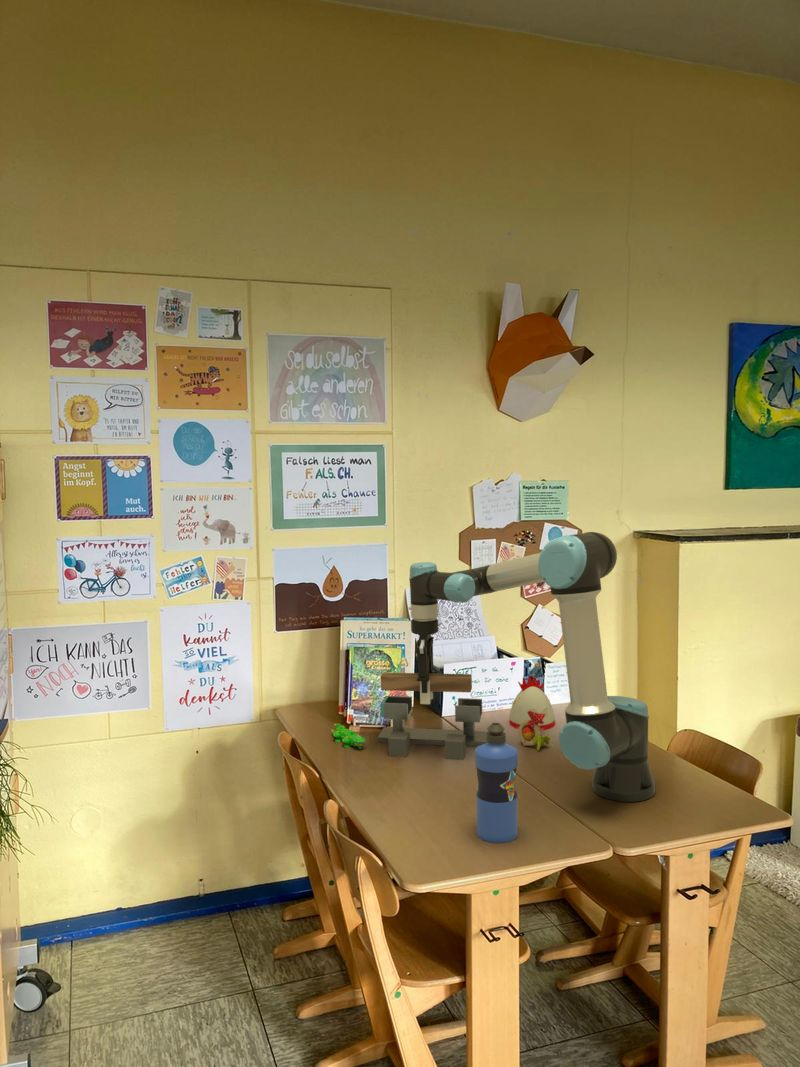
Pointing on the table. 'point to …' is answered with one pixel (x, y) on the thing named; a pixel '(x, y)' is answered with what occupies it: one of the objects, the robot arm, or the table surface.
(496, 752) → the water bottle
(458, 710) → the rail stand
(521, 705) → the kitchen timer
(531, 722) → the bird rattle
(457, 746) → the rail rest
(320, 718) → the table surface
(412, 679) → the walnut rail
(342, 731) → the crocodile figurine
